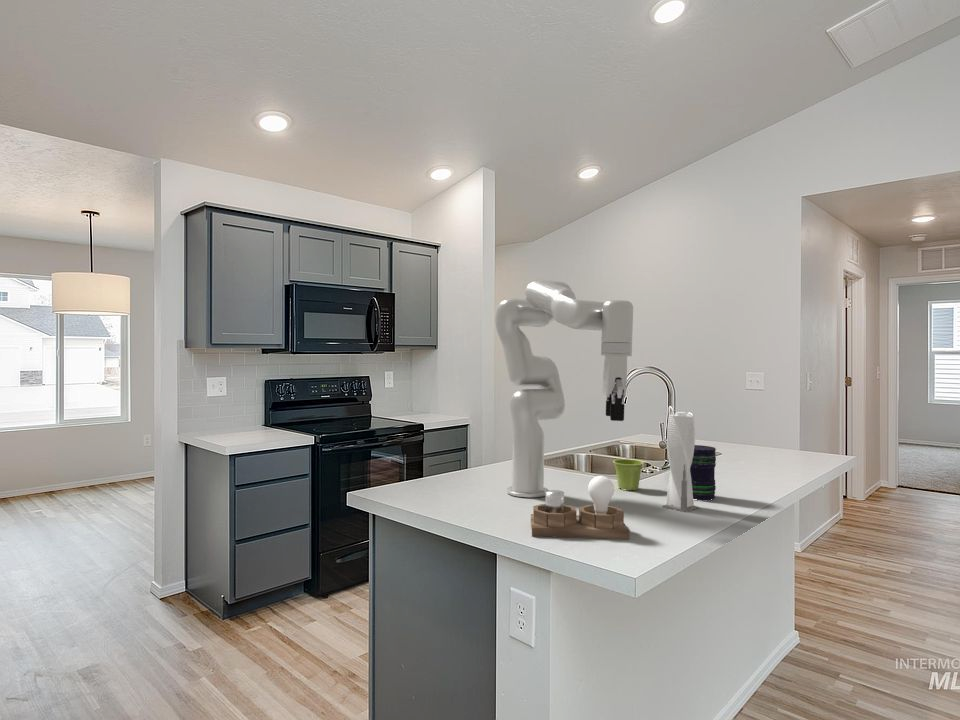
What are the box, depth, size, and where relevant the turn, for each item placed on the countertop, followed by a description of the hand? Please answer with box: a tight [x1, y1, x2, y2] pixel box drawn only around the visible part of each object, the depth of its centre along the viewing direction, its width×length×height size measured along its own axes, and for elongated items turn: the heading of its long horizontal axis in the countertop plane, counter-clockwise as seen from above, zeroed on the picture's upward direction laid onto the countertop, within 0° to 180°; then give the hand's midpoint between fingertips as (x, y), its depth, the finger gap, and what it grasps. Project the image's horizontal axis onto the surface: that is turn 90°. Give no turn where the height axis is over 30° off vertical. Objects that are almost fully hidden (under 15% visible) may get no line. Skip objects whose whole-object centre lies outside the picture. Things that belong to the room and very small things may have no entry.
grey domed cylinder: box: [544, 489, 565, 513], centre depth 141 cm, size 4×4×7 cm
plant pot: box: [612, 458, 645, 491], centre depth 187 cm, size 9×9×9 cm
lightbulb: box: [587, 475, 615, 514], centre depth 141 cm, size 6×6×11 cm
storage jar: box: [690, 444, 717, 501], centre depth 177 cm, size 10×10×15 cm
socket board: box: [530, 503, 630, 540], centre depth 141 cm, size 12×22×5 cm, turn 87°
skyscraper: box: [662, 405, 700, 513], centre depth 165 cm, size 8×8×28 cm
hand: (614, 418), depth 148 cm, fingers open, 9 cm apart
